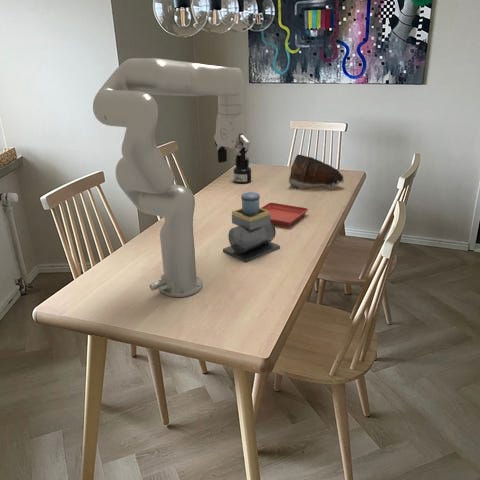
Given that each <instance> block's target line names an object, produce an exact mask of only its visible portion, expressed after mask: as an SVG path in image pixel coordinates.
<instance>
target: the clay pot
mask: <svg viewBox="0 0 480 480" xmlns="http://www.w3.org/2000/svg"><path fill="white" fill-rule="evenodd" d="M344 181H345V178H344V175H343V174H342V173H341V172H340V171H339V169H338V168H335V167H333V166H331V165H329V164H328V163H325V162H323V161H321V160H318V159H316V158H314V157H313V156H306V155H303V154H296V156H295V157H294V160H293V162H292V165H291V167H290V174H289V178H288V183H289V185H291V186H294V187H295V188H296V187H297V188H298V189H301V190H302V189H309V188H313V187H320V188H327V189H329V188H331V187H334V186H337V185H339V184H340V183H341V184H343V183H344Z"/></svg>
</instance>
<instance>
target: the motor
mask: <svg viewBox="0 0 480 480" xmlns="http://www.w3.org/2000/svg"><path fill="white" fill-rule="evenodd" d="M231 224H232V225H236V226H235V227H231V228H230V229H229V231H228V236H227V237H228V242H229V246H226V247H224V248H222V252H223V253H225V254H227V255H230V256H231V257H234V258H236V259H238V260H240V261H242V262H244V263H248V262H250V261H253V260H255V259H258V258H260V257H262V256H264V255H267V254H270V253H272V252H275V251H276V250H280V249H281V245H279V244H277V243H275V242H272V241H273V240H274V239H275V237H276V234H277V233H276V231H277V230H276V227H275V226H276V225H274V224H273V223H272V221H270V211H268V210H265V209H262V207H259V214H257V215H254V216H251V217H249V216H247V215H244V214H242V207H241V208H239V209H235V210H231Z"/></svg>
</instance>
